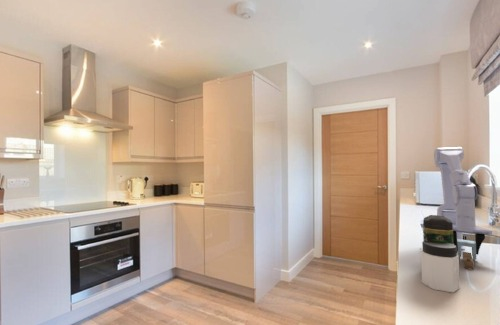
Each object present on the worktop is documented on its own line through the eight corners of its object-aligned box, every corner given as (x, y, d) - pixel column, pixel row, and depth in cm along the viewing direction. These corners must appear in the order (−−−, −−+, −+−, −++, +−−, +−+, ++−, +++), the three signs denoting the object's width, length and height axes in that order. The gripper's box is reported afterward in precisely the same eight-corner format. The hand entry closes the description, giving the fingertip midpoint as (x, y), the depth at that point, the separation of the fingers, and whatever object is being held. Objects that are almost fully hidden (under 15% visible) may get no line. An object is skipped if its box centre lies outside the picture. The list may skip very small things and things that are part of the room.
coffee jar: (423, 266, 90) (422, 212, 91) (452, 271, 86) (450, 214, 86) (424, 275, 82) (423, 217, 82) (456, 281, 77) (454, 219, 78)
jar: (451, 295, 69) (449, 250, 69) (417, 284, 76) (416, 243, 76) (463, 287, 74) (462, 244, 74) (431, 277, 80) (430, 238, 81)
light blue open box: (457, 253, 101) (457, 239, 101) (475, 255, 98) (474, 241, 98) (458, 256, 97) (457, 241, 97) (476, 259, 94) (475, 244, 94)
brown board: (462, 258, 98) (462, 250, 98) (471, 259, 96) (470, 251, 96) (464, 268, 88) (464, 259, 88) (473, 269, 87) (473, 260, 87)
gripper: (441, 215, 99) (442, 251, 99) (492, 219, 91) (494, 259, 90) (441, 213, 105) (442, 247, 104) (490, 217, 96) (491, 253, 96)
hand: (466, 252), depth 98 cm, fingers closed on light blue open box, 5 cm apart
